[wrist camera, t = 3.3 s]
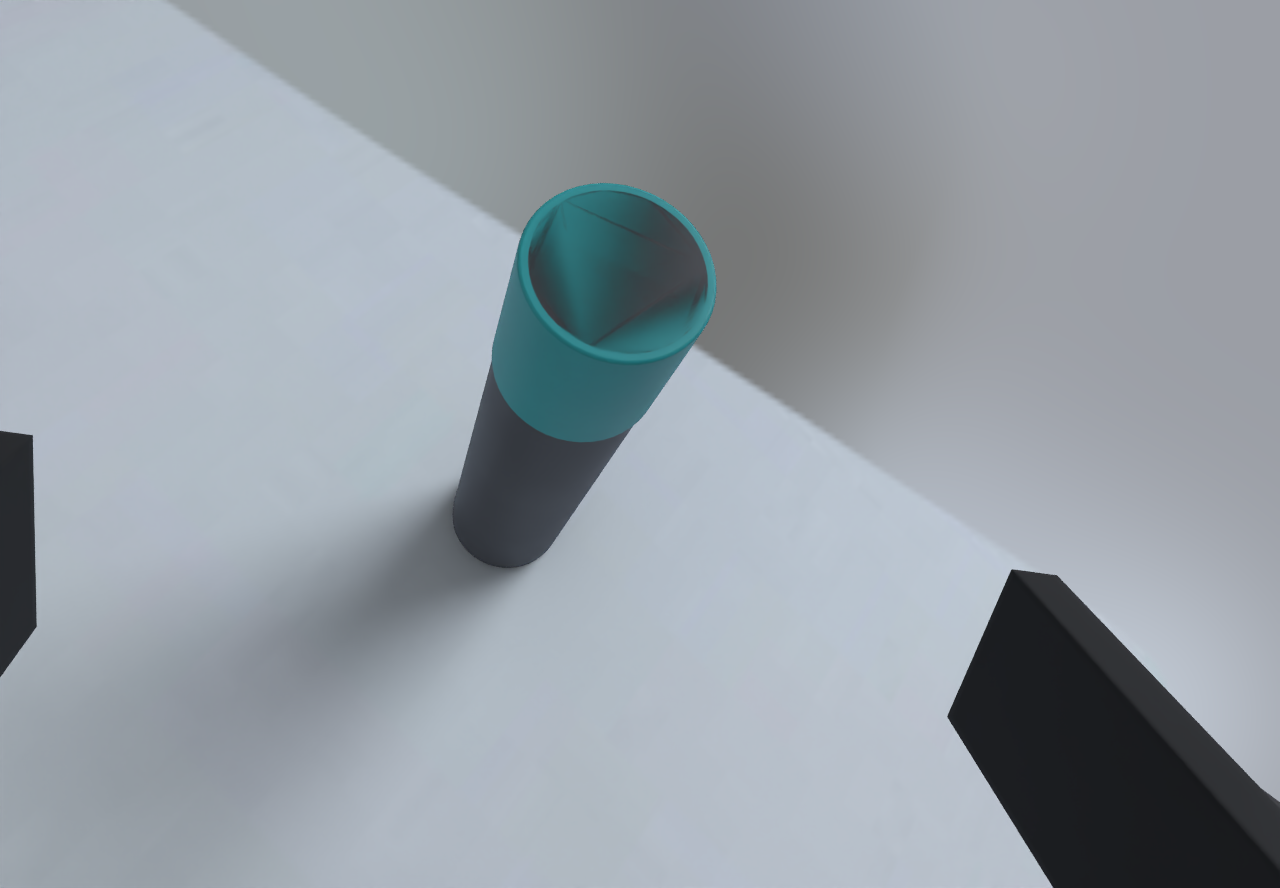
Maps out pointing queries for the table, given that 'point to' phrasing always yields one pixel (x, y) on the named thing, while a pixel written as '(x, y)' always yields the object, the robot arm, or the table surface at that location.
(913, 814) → the table surface
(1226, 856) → the robot arm
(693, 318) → the marker
